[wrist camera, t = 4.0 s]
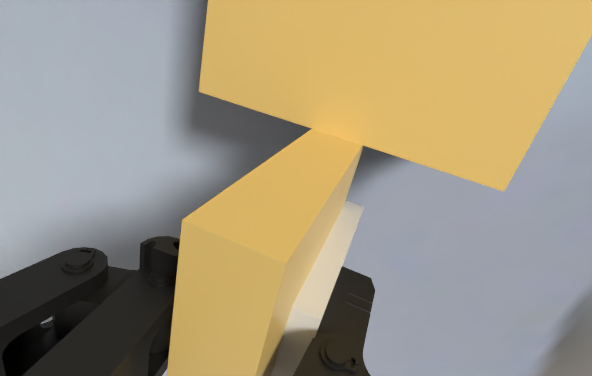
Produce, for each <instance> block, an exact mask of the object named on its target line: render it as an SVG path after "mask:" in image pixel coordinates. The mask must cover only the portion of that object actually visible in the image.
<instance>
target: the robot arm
mask: <svg viewBox="0 0 592 376" xmlns="http://www.w3.org/2000/svg"><path fill="white" fill-rule="evenodd" d="M363 209H364V207H363V206H360V205H357V204H354V203H352V202H349V201H346V202H345V204H344V207H343V209H342V210H341V212H340V214H339V216H338V218H337V220H336V222H335V224H334V226H333V228H332V230H331V232H330V234H329V236H328V238H327V240H326V242H325V244H324V246H323V247H322V249H321V251H320V253H319V255H318V257H317V259H316V261H315V263H314V265H313V267H312V269H311V271H310V273H309V275H308V277H307V279H306V281H305V283H304V285H303V286H302V288H301V290H300V292H299V294H298V296H297V298H296V300H295V302H294V304H293V306H292V309H291V312H290V315H289V319H288V322H287V325H286V328H285V332H284V335H283V338H282V342H281V345H280V348H279V351H278V355H277V358H276V361H275V365H274V368H273V371H272V374H271V376H370V374H369V373H368V371H367V369H366V367H365V365H364V360H363V347H364V342H365V337H366V332H367V327H368V323H369V318H370V312H371V308H372V302H373V298H374V293H375V289H374V286H373V283H372V280H371V278H369V277H367V276H364V275H362V274H360V273H357V272H355V271H352V270H350V269H347V268H345V267H342V266H343V263H344V261H345V258H346V255H347V253H348V250H349V247H350V244H351V242H352V239H353V236H354V233H355V231H356V228H357V225H358V222H359V220H360V217H361V214H362V212H363ZM179 245H180V239H178V238H174V237H169V236H162V237H154V238H150V239H148V240H146V241H144V242H142V243H141V245H140V269H139V270H127V269H122V268H116V267H110V266H108V261H107V256H106V255H105V254H104V253H103V252H102V251H99V250H97V249H95V248H86V247H82V248H73V249H70V250H67V251H63V252H61V253H58V254H56V255H54V256H52V257H49V258H47V259H45V260H43V261H40V262H38V263H36V264H33V265H31V266H29V267H27V268H24V269H22V270H20V271H18V272H15V273H13V274H11V275H9V276H6V277H4V278H2V279H0V376H162V375H163V374H164V372H165V371H166V369H167V368H168V358H169V347H170V337H171V327H172V317H173V307H174V296H175V286H176V276H177V266H178V256H179ZM51 316H52V319H53V320H51V321H49V322H46V323H44V324H40V323H41V322H43V321H44V320H46V319H48V318H50V317H51Z"/></svg>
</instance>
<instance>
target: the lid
mask: <svg viewBox="0 0 592 376" xmlns="http://www.w3.org/2000/svg"><path fill="white" fill-rule="evenodd" d="M591 36H592V0H208V6H207V15H206V25H205V35H204V44H203V54H202V64H201V74H200V83H199V92H201V93H204V94H207V95H210V96H213V97H216V98H219V99H222V100H225V101H229V102H232V103H235V104H238V105H241V106H244V107H247V108H250V109H253V110H256V111H259V112H262V113H265V114H268V115H271V116H274V117H278V118H281V119H284V120H287V121H290V122H293V123H296V124H299V125H302V126H305V127H308V128H311V130H309V131H308V132H307V133H305V134H304V135H302V136H301V137H299V138H298V139H297V140H295V141H294V142H292V143H291V144H289V145H288V146H287V147H285V148H284V149H282V150H281V151H279V152H278V153H277V154H275V155H274V156H272V157H271V158H269V159H268V160H267V161H265V162H264V163H262V164H261V165H259V166H258V167H257V168H255V169H254V170H252V171H251V172H249V173H248V174H247V175H245V176H244V177H242V178H241V179H239V180H238V181H237V182H235V183H234V184H232V185H231V186H229V187H228V188H227V189H225V190H224V191H222V192H221V193H219V194H218V195H217V196H215V197H214V198H212V199H211V200H209V201H208V202H207V203H205V204H204V205H202V206H201V207H199V208H198V209H197V210H195V211H194V212H192V213H191V214H189V215H188V216H187V217H185V218H184V219H182V225H181V235H180V245H179V256H178V266H177V276H176V286H175V296H174V307H173V317H172V327H171V337H170V347H169V358H168V368H167V376H271V374H272V371H273V368H274V365H275V361H276V358H277V355H278V351H279V348H280V345H281V342H282V338H283V335H284V332H285V328H286V325H287V322H288V319H289V315H290V312H291V309H292V306H293V304H294V302H295V300H296V298H297V296H298V294H299V292H300V290H301V288H302V286H303V285H304V283H305V281H306V279H307V277H308V275H309V273H310V271H311V269H312V267H313V265H314V263H315V261H316V259H317V257H318V255H319V253H320V251H321V249H322V247H323V246H324V244H325V242H326V240H327V238H328V236H329V234H330V232H331V230H332V228H333V226H334V224H335V222H336V220H337V218H338V216H339V214H340V212H341V210H342V209H343V207H344V204H345V201H346V198H347V195H348V192H349V189H350V186H351V183H352V180H353V177H354V174H355V171H356V168H357V165H358V162H359V159H360V156H361V153H362V150H363V147H364V146H366V147H369V148H372V149H376V150H379V151H382V152H385V153H388V154H391V155H394V156H397V157H400V158H403V159H406V160H409V161H412V162H415V163H418V164H422V165H425V166H428V167H431V168H434V169H437V170H440V171H443V172H446V173H449V174H452V175H455V176H458V177H461V178H464V179H467V180H471V181H474V182H477V183H480V184H483V185H486V186H489V187H492V188H495V189H498V190H501V191H505V189H506V187H507V186H508V184H509V182H510V180H511V178H512V177H513V175H514V173H515V171H516V170H517V168H518V166H519V164H520V162H521V161H522V159H523V157H524V155H525V153H526V152H527V150H528V148H529V146H530V145H531V143H532V141H533V139H534V137H535V136H536V134H537V132H538V130H539V128H540V127H541V125H542V123H543V121H544V120H545V118H546V116H547V114H548V112H549V111H550V109H551V107H552V105H553V103H554V102H555V100H556V98H557V96H558V95H559V93H560V91H561V89H562V87H563V86H564V84H565V82H566V80H567V78H568V77H569V75H570V73H571V71H572V70H573V68H574V66H575V64H576V62H577V61H578V59H579V57H580V55H581V53H582V52H583V50H584V48H585V46H586V45H587V43H588V41H589V39H590V37H591Z"/></svg>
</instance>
